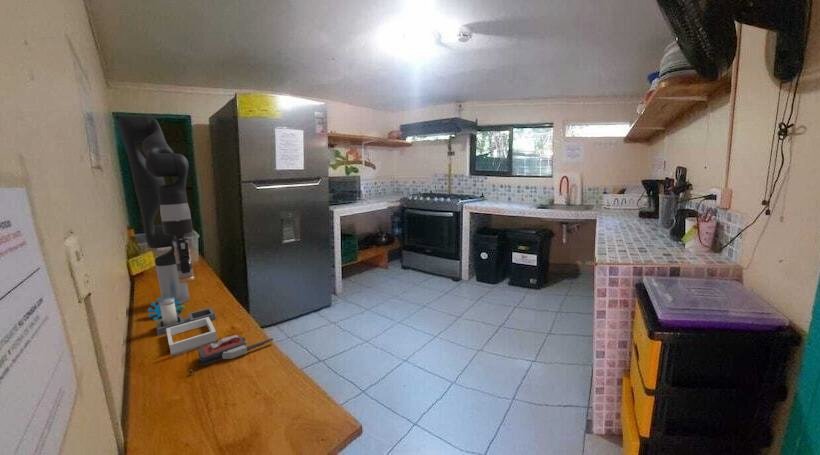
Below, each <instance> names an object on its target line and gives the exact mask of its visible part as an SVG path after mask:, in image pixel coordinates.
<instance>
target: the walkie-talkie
mask: <svg viewBox="0 0 820 455" xmlns="http://www.w3.org/2000/svg"><path fill="white" fill-rule="evenodd" d="M270 340H271V341H270ZM273 341H274V338H269V339H265V340H263V341H260V342H257V343H254V344H251V345H247V344H248V342H247V341H246V338H245V337H242V336H241V335H237V334H233V335H230V336H226V337H224V338H221V339H220V340H219V341H218V342H215V343H211V344H209V345H206V346H203V347H200V348H197V353H198V358H199V360H197V361H196V365H197V366H201V365H202V366H208V365H211V364H213V363H216V362H220V361H222V360H229V359H230V360H231V359H235V358H238V357H240V356H243V355H246V354H248V351H251V350H252V349H255V348H258V347H261V346H264V345H265V344H266V343H267V344H268V343H269V342H273Z"/></svg>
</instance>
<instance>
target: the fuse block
mask: <svg viewBox="0 0 820 455" xmlns="http://www.w3.org/2000/svg"><path fill="white" fill-rule="evenodd" d="M206 317H209V318H210V320H211V322H213V321H217V317H216V314H215V312H214V310H213V308H212V307H208V308H204V309H201V310H196V311H193V312H188V313H187V318H184V316H183V314H180V315H177V319H178V323H175V324H171V325H168V326H164V327H163V320H162V319H160V320H156V335H157V337H161V336H163V335H167V331H166V328H170V327H173V326H177V325H181V324H184V323H188V322H191V321H195V320H199V319H202V318H206Z"/></svg>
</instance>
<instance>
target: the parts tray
mask: <svg viewBox="0 0 820 455" xmlns="http://www.w3.org/2000/svg"><path fill="white" fill-rule="evenodd" d="M205 326H206V327H207V329H208V332H204V333H201V334H198V335H195V336H191V337H189V338H185V339H182V340H178V341H175V342H174V341H173V336H174V335H177V334H178V335H179V334H181V333H184V332H187V331H192V330H195V329H199V328H202V327H205ZM166 331H167V334H166V335H167V340H168V341H167V342H168V346H169V351H170V356H171V357H175V356H177V355H181V354H183V353H187V352H190V351H192V350H198V349H200V348H203V347H206V346H209V345H210V344H211V343H213V344H216V343H218V342H219V341H218V336H217V331H216V328H215V327H214V324H213V321H211V320H210V318H209V317H206V318H202V319H199V320H195V321H191V322H188V323H184V324H181V325H177V326H173V327H170V328H166Z"/></svg>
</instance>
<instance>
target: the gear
mask: <svg viewBox="0 0 820 455" xmlns="http://www.w3.org/2000/svg"><path fill="white" fill-rule="evenodd" d="M165 298H169V297H168V296H166V297H165ZM173 298H174V300H176V298H175V297H173ZM156 300H157V303H158V304H156V302H155V301H153V302H151V303H150V305H151V307H149V308H148V309H147V312H149V314H148V317H149V318H150V319H151V318H152V320H153V321H155V322H156V321H158V320H159V319H161V318H162V314H161V309H160V305H159V301H160V300H162V297H159V298H156ZM175 304H177V305H175V308H176V314H177V316H179V313H182V312H183V310H184V309H185V308H186V307H185V305H184V304H180V301H176V302H175ZM152 307H154V308H155V309H153V308H152ZM152 312H153V313H152Z"/></svg>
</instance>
